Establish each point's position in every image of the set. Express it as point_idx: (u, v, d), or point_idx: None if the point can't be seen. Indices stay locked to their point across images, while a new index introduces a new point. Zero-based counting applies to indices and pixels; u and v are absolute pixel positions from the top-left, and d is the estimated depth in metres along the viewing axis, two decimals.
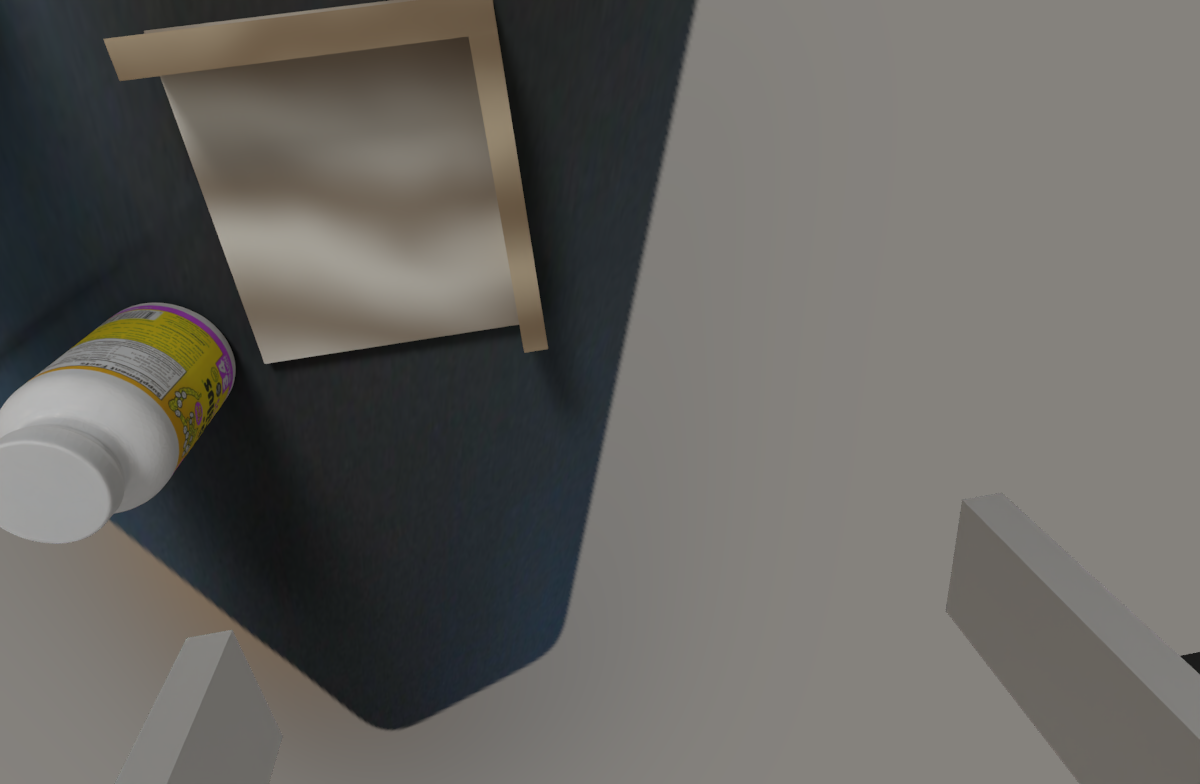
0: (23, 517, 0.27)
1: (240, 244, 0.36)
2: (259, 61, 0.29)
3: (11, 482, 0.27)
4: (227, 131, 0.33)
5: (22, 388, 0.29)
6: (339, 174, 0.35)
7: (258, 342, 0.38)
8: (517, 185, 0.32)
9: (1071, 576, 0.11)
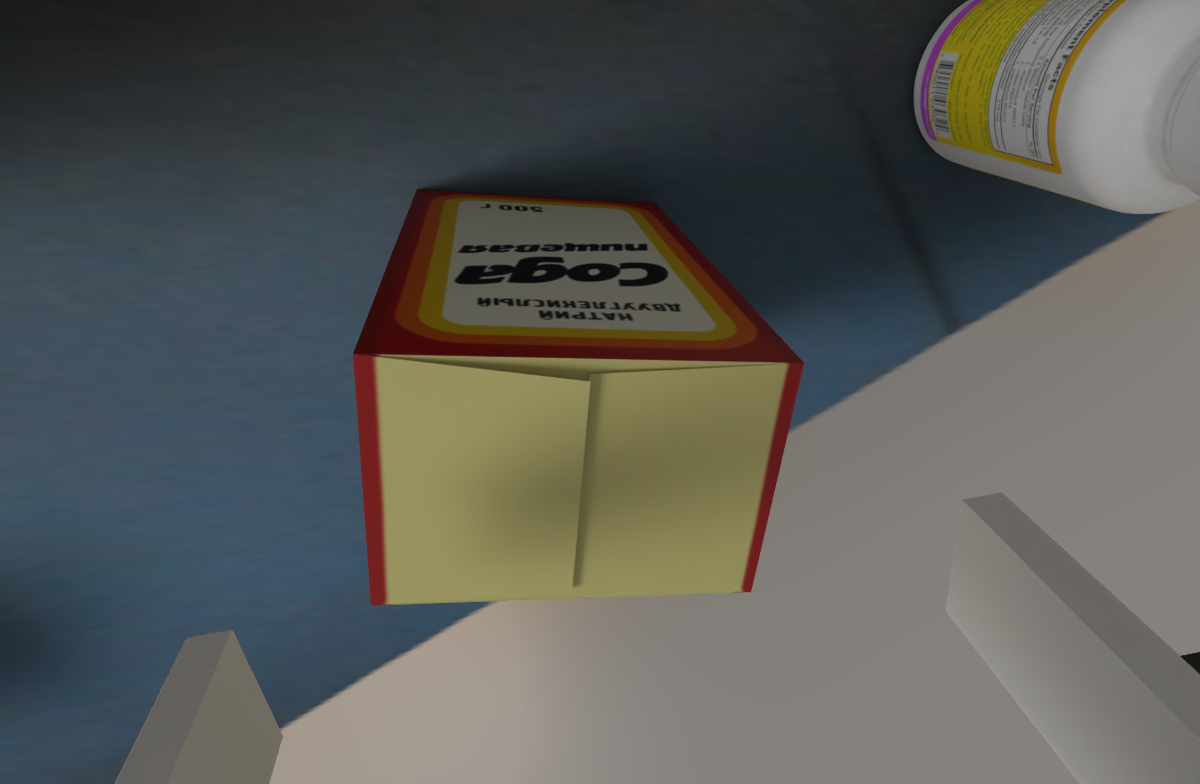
0: None
1: None
2: None
3: None
4: None
5: (1076, 154, 0.21)
6: None
7: None
8: None
9: (1071, 576, 0.11)
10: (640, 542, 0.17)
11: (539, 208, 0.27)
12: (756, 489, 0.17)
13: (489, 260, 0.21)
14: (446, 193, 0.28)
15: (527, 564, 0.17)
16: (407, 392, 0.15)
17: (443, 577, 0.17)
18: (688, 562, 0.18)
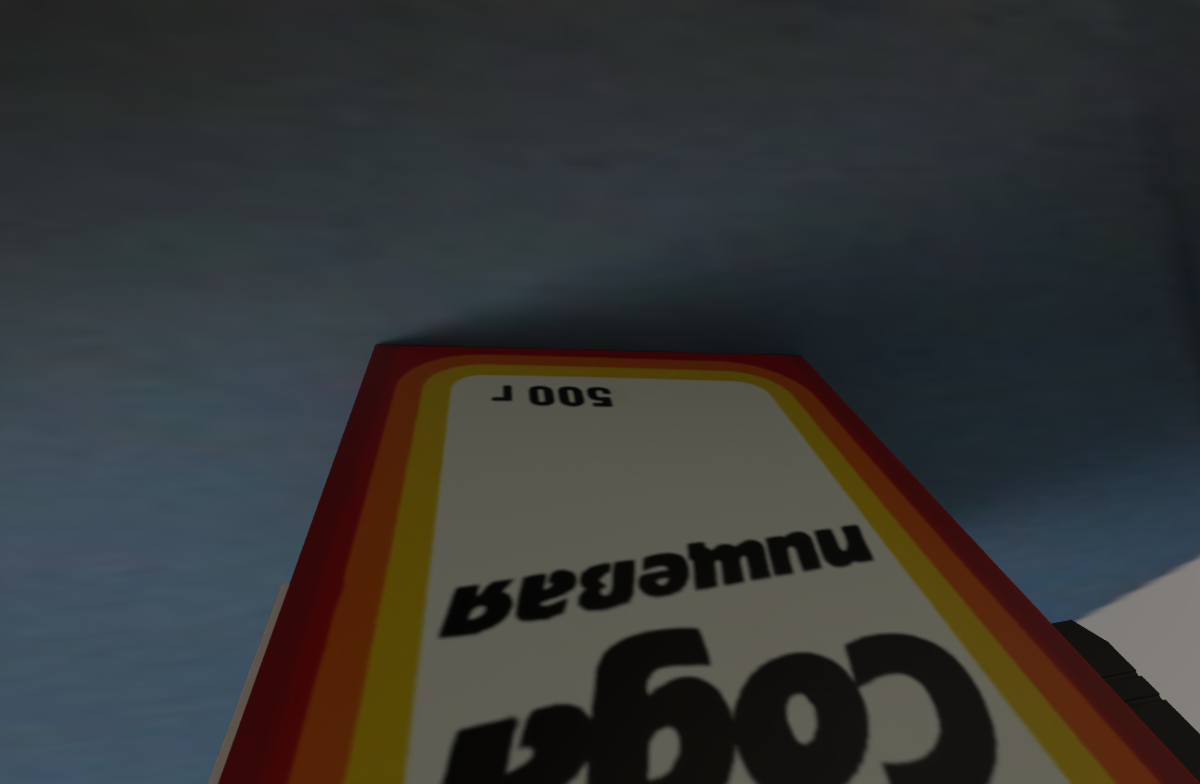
0: None
1: None
2: None
3: None
4: None
5: None
6: None
7: None
8: None
9: None
10: None
11: (605, 392, 0.14)
12: None
13: (522, 682, 0.08)
14: (429, 353, 0.15)
15: None
16: None
17: None
18: None
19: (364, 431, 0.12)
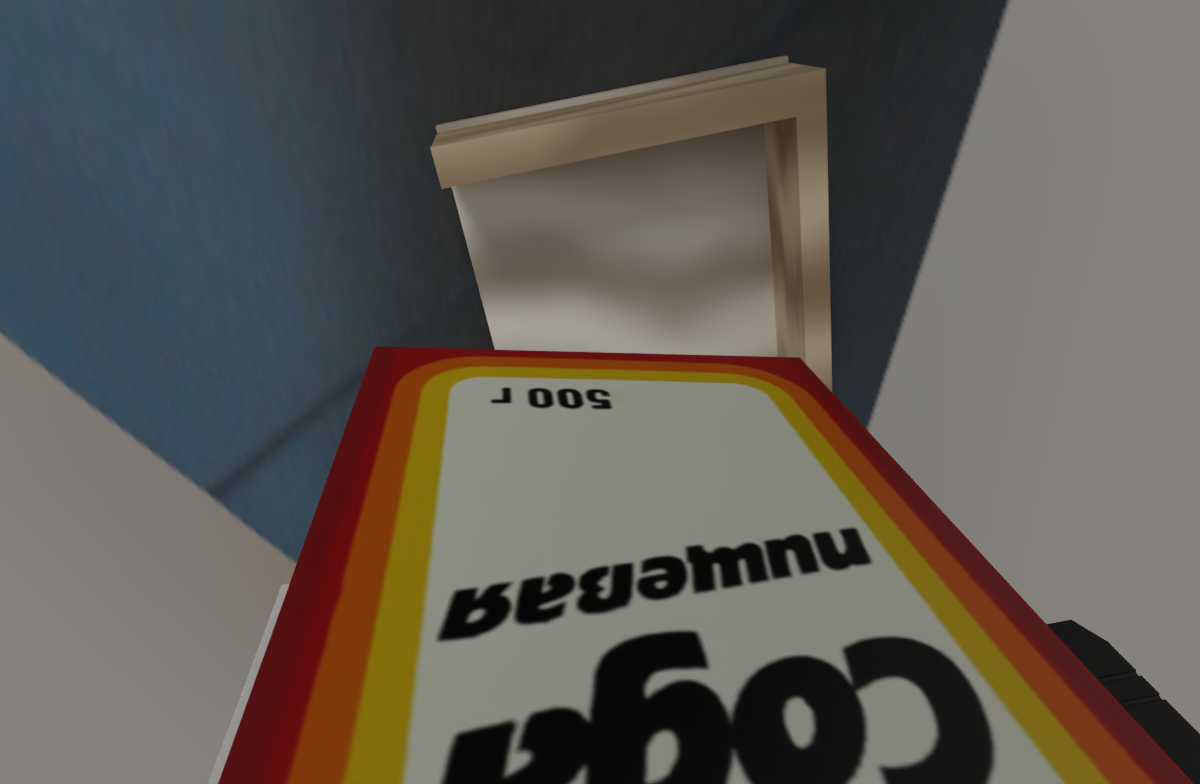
0: None
1: (509, 332, 0.34)
2: (583, 158, 0.27)
3: None
4: (508, 221, 0.32)
5: None
6: (614, 256, 0.33)
7: None
8: (825, 263, 0.31)
9: None
10: None
11: (604, 394, 0.14)
12: None
13: (520, 686, 0.08)
14: (428, 355, 0.15)
15: None
16: None
17: None
18: None
19: (363, 433, 0.12)
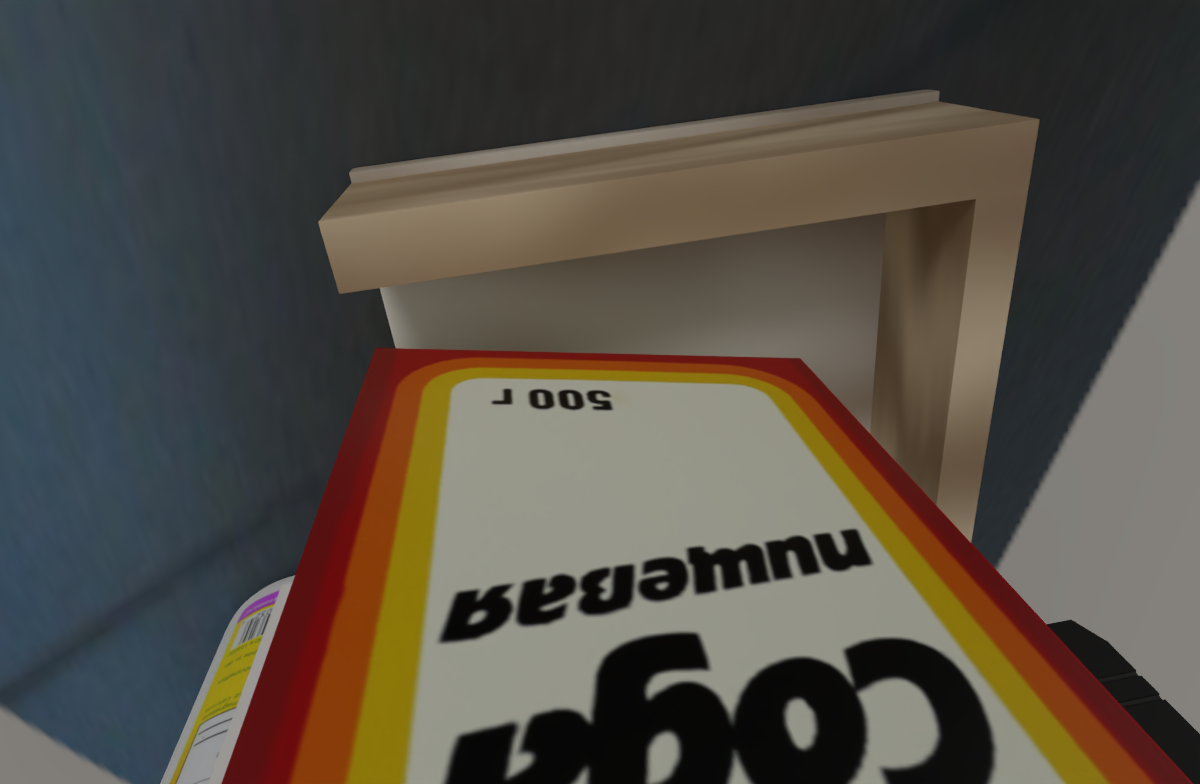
0: None
1: None
2: (599, 252, 0.15)
3: None
4: (468, 326, 0.20)
5: None
6: None
7: None
8: (982, 431, 0.19)
9: None
10: None
11: (605, 396, 0.14)
12: None
13: (521, 687, 0.08)
14: (429, 356, 0.15)
15: None
16: None
17: None
18: None
19: (364, 435, 0.12)
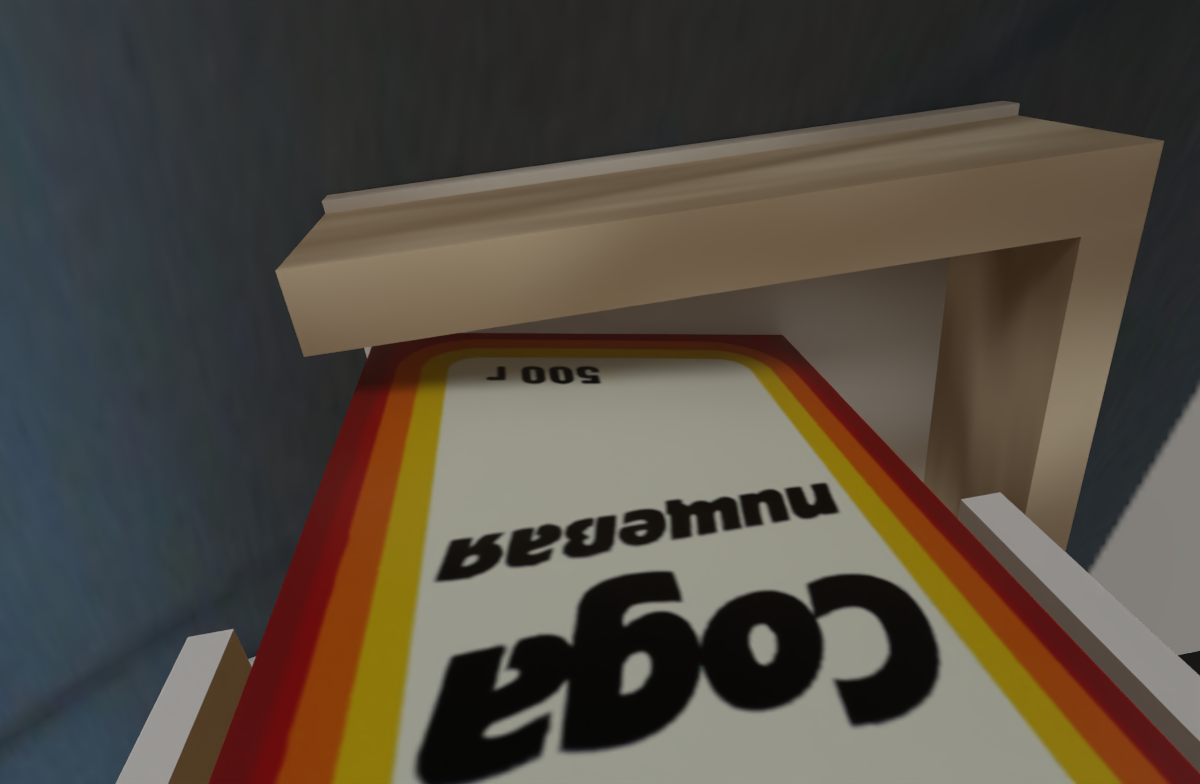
0: None
1: None
2: (624, 304, 0.12)
3: None
4: None
5: None
6: None
7: None
8: (1069, 503, 0.16)
9: (1069, 575, 0.11)
10: None
11: (593, 371, 0.15)
12: None
13: (509, 616, 0.09)
14: (428, 339, 0.16)
15: None
16: None
17: None
18: None
19: (367, 408, 0.13)
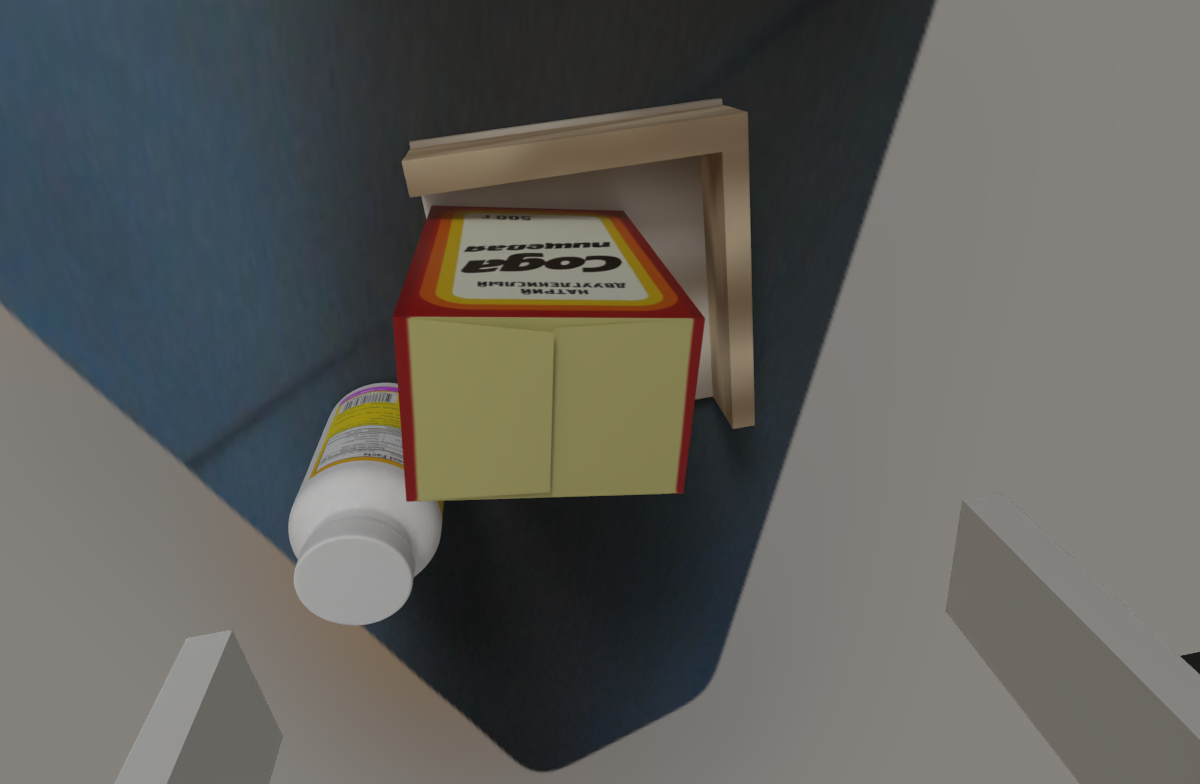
0: (333, 602, 0.30)
1: None
2: (535, 177, 0.31)
3: (329, 572, 0.29)
4: None
5: (320, 480, 0.31)
6: None
7: None
8: (747, 281, 0.35)
9: (1071, 576, 0.11)
10: (597, 454, 0.24)
11: (528, 217, 0.34)
12: (679, 412, 0.24)
13: (487, 257, 0.28)
14: (454, 207, 0.35)
15: (516, 469, 0.24)
16: (429, 343, 0.22)
17: (457, 480, 0.24)
18: (634, 469, 0.25)
19: (432, 223, 0.32)
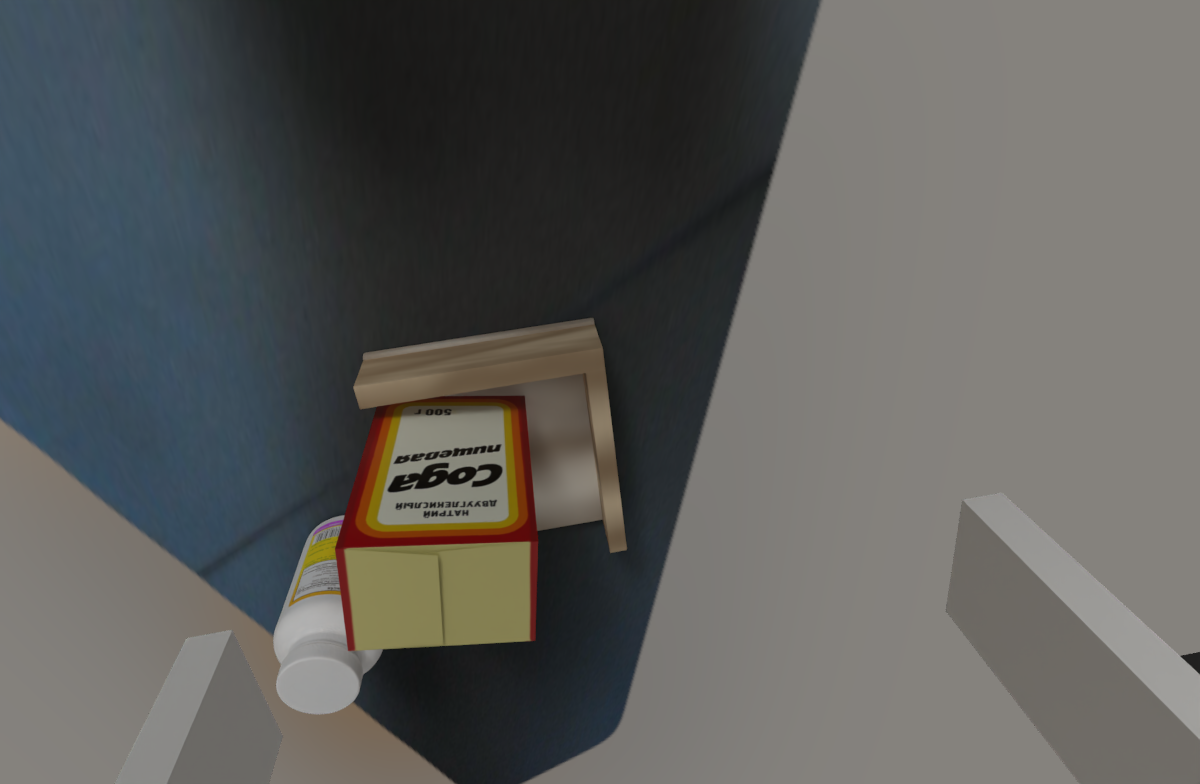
0: (304, 699, 0.42)
1: None
2: (450, 394, 0.44)
3: (301, 680, 0.42)
4: None
5: (296, 610, 0.44)
6: None
7: None
8: (612, 454, 0.47)
9: (1071, 576, 0.11)
10: (474, 619, 0.37)
11: (449, 410, 0.47)
12: (527, 594, 0.37)
13: (408, 470, 0.40)
14: None
15: (420, 631, 0.37)
16: (359, 562, 0.34)
17: (381, 638, 0.37)
18: (500, 627, 0.37)
19: (377, 423, 0.44)
